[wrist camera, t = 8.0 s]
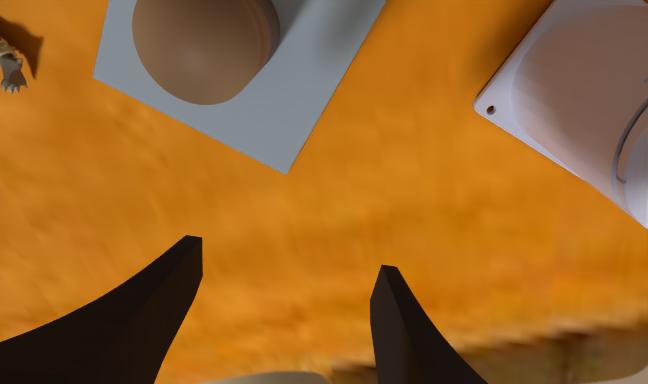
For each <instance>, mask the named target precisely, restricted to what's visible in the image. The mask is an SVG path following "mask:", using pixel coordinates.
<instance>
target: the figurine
mask: <svg viewBox="0 0 648 384" xmlns="http://www.w3.org/2000/svg"><path fill="white" fill-rule="evenodd" d="M15 48H16V47H13V46H9V44H8V43H7V42H6V41H2V40H1V39H0V66H1V67H2V70H3V77H4V79H3V80H2V82H1V88H2V89H3V91H5V92H6V90H7V88H8V90H9V92H10V93H12V94H13V91H14V90H15V91H16V92H17V93H19V90H20V85H22V86H24V87H26V88H28V87H27V84H26V80H25V78H24V76H23V74H22V72H21V68H22V63H23V59H22V58H19V59H17V55H18V54H17V53H16V52H15V51H14V50H15Z"/></svg>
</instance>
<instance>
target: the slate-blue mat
mask: <svg viewBox="0 0 648 384" xmlns="http://www.w3.org/2000/svg"><path fill="white" fill-rule="evenodd" d="M271 1H272V3H273V5H274V7H275V10H276V12H277V15H278V19H279V25H280V36H279V42H278V46H277V49H276V51H275V53H274V55H273V56H272V58H271V59H270V60H269V62H268V63H267V64H266V65H265V66H264V67H263V68H262V69H261V70H260V71H259V73H258V74H257V75H256V76H255V77H254V78H253V79H252V80H251V81H250V83H249V84H248V85H247V86H246V87H245V88H244V89H243V90H242V91H241V92H240V93H239V94H238V95H236V96H235V97H234V98H232V99H230V100H228V101H226V102H223V103H220V104H215V105H198V104H192V103H189V102H186V101H183V100H181V99H178V98H176V97H175V96H173V95H171V94H170V93H168V92H167V91H165V90H164V89H163V88H162V87H161V86H159V85H158V84H157V83H156V82H155V81H154V79H153V78H152V77H151V76H150V75H149V73H148V72H147V71H146V69H145V67H144V66H143V64H142V62H141V60H140V58H139V56H138V54H137V51H136V48H135V44H134V40H133V33H132V18H133V12H134V8H135V5H136V2H137V0H109V4H108V8H107V13H106V18H105V22H104V27H103V31H102V36H101V41H100V45H99V50H98V54H97V59H96V64H95V68H94V73H93V78H95V79H97V80H99V81H101V82H103V83H105V84H107V85H109V86H111V87H113V88H115V89H117V90H119V91H121V92H123V93H125V94H127V95H129V96H131V97H133V98H135V99H137V100H139V101H141V102H143V103H145V104H147V105H148V106H150V107H152V108H154V109H156V110H158V111H160V112H162V113H164V114H166V115H168V116H170V117H172V118H174V119H176V120H178V121H180V122H182V123H184V124H186V125H188V126H190V127H192V128H194V129H196V130H198V131H200V132H202V133H204V134H206V135H208V136H210V137H212V138H214V139H216V140H218V141H220V142H222V143H224V144H226V145H228V146H230V147H232V148H234V149H236V150H238V151H240V152H241V153H243V154H245V155H247V156H249V157H251V158H253V159H255V160H257V161H259V162H261V163H263V164H265V165H267V166H269V167H271V168H273V169H275V170H277V171H279V172H281V173H283V174H285V175H286V174H287V173H288V171H289V169H290V167H291V166H292V164H293V162H294V160H295V159H296V157H297V155H298V154H299V152H300V150H301V148H302V147H303V145H304V143H305V141H306V140H307V138H308V136H309V134H310V133H311V131H312V129H313V128H314V126H315V124H316V122H317V121H318V119H319V117H320V115H321V114H322V112H323V110H324V109H325V107H326V105H327V103H328V102H329V100H330V98H331V96H332V95H333V93H334V91H335V89H336V88H337V86H338V84H339V83H340V81H341V79H342V77H343V76H344V74H345V72H346V70H347V69H348V67H349V65H350V63H351V62H352V60H353V58H354V57H355V55H356V53H357V51H358V50H359V48H360V46H361V44H362V43H363V41H364V39H365V37H366V36H367V34H368V32H369V31H370V29H371V27H372V25H373V24H374V22H375V20H376V18H377V17H378V15H379V13H380V12H381V10H382V8H383V6H384V5H385V3H386V1H387V0H271Z"/></svg>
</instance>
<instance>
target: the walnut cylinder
mask: <svg viewBox="0 0 648 384" xmlns="http://www.w3.org/2000/svg"><path fill="white" fill-rule="evenodd" d="M132 33H133V40H134V44H135V48H136V51H137V54H138V56H139V58H140V60H141V62H142V64H143V66H144V67H145V69H146V71H147V72H148V73H149V75H150V76H151V77H152V78H153V79H154V81H155V82H156V83H157V84H158V85H159V86H161V87H162V88H163V89H164V90H165V91H167V92H168V93H170V94H171V95H173V96H175V97H176V98H178V99H181V100H183V101H186V102H189V103H192V104H198V105H215V104H220V103H223V102H226V101H228V100H230V99H232V98H234V97H235V96H236V95H238V94H239V93H240V92H241V91H242V90H243V89H244V88H245V87H246V86H247V85H248V84H249V83H250V81H251V80H252V79H253V78H254V77H255V76H256V75H257V74H258V73H259V71H260V70H261V69H262V68H263V67H264V66H265V65H266V64H267V63H268V62H269V60H270V59H271V58H272V56H273V55H274V53H275V51H276V49H277V46H278V42H279V36H280V25H279V19H278V15H277V12H276V10H275V7H274V5H273V3H272V1H271V0H137V2H136V5H135V8H134V12H133V18H132Z"/></svg>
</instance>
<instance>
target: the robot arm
mask: <svg viewBox="0 0 648 384" xmlns="http://www.w3.org/2000/svg"><path fill="white" fill-rule="evenodd" d="M492 105H493V106H494V108H493V110H492V111H491V112H489V113H487V111H486V110H487V108H488V107H489V106H492ZM473 108H474V110H475V111H476V112H477V113H478V114H480V115H482V116H483V117H485V118H486V119H488V120H489V121H491V122H493V123H494V124H496V125H497V126H499V127H500V128H502V129H504V130H505V131H507V132H508V133H510V134H512V135H513V136H515V137H516V138H518V139H519V140H521V141H523V142H524V143H526V144H527V145H529V146H531V147H532V148H534V149H535V150H537V151H538V152H540V153H542V154H543V155H545V156H546V157H548V158H549V159H551V160H553V161H554V162H556V163H557V164H559V165H561V166H562V167H564V168H565V169H567V170H568V171H570V172H572V173H573V174H575V175H576V176H578V177H579V178H581V179H583V180H584V181H586V182H588V183H589V184H590V185H592V186H593V187H594V188H596V189H597V190H598V191H599V192H601V193H602V194H603V195H604V196H606V197H607V198H608V199H610V200H611V201H612V202H613V203H615V204H616V205H617V206H619V207H620V208H621V209H622V210H624V211H625V212H626V213H628V214H629V215H630V216H631V217H633V218H634V219H635V220H636V221H638V222H639V223H640V224H641V225H643V226H644V227H645V228H647V229H648V4H647V3H646V2H644V1H643V0H554V1H553V2H552V3H551V5H550V6H549V7H548V8H547V10H546V11H545V12H544V14H543V15H542V16H541V17H540V19H539V20H538V21H537V22H536V24H535V25H534V26H533V27H532V29H531V30H530V31H529V32H528V34H527V35H526V36H525V37H524V39H523V40H522V41H521V42H520V44H519V45H518V46H517V48H516V49H515V50H514V51H513V53H512V54H511V55H510V56H509V58H508V59H507V60H506V61H505V63H504V64H503V65H502V66H501V68H500V69H499V70H498V71H497V73H496V74H495V75H494V76H493V78H492V79H491V80H490V82H489V83H488V84H487V85H486V87H485V88H484V89H483V90H482V92H481V93H480V94H479V95H478V97H477V98H476V99H475V101H474V103H473ZM202 276H203V264H202V237H196V236H189V235H186V236H185V237H183V238H182V239H181V240H179V241H178V242H177V243H176V244H175V245H173V246H172V247H171V248H170V249H169V250H167V251H166V252H165V253H164V254H162V255H161V256H160V257H159V258H157V259H156V260H155V261H153V262H152V263H151V264H149V265H148V266H147V267H145V268H144V269H143V270H141V271H140V272H139V273H137V274H136V275H134V276H133V277H131V278H130V279H128V280H127V281H126V282H124V283H123V284H121V285H120V286H118V287H116V288H115V289H113V290H112V291H110V292H108V293H107V294H105V295H103V296H102V297H100V298H98V299H96V300H95V301H93V302H91V303H89V304H87V305H85V306H83V307H81V308H79V309H77V310H75V311H73V312H71V313H69V314H67V315H65V316H63V317H61V318H59V319H57V320H54V321H52V322H50V323H48V324H45V325H43V326H41V327H38V328H36V329H34V330H31V331H29V332H26V333H24V334H21V335H18V336H16V337H13V338H10V339H7V340H5V341H2V342H0V384H154V382H155V379H156V377H157V374H158V372H159V369H160V367H161V364H162V362H163V360H164V358H165V355H166V353H167V351H168V349H169V347H170V345H171V343H172V341H173V339H174V337H175V336H176V334H177V332H178V330H179V328H180V326H181V324H182V322H183V320H184V318H185V316H186V314H187V312H188V310H189V308H190V306H191V304H192V302H193V300H194V298H195V296H196V293H197V290H198V288H199V285H200V282H201V279H202ZM370 324H371V332H372V340H373V347H374V354H375V361H376V368H377V375H378V384H488V383H487V382H486V381H485V380H483V379H482V378H481V377H480V376H479V375H478V374H477V373H476V372H475V371H474V370H473V369H472V368H471V367H470V366H469V365H468V364H467V363H466V362H465V361H464V360H463V359H462V358H461V357H460V356H459V354H458V353H457V352H456V351H455V350H454V349H453V348H452V347H451V345H450V344H449V343H448V342H447V341H446V340H445V338H444V337H443V336H442V335H441V334H440V332H439V331H438V330H437V328H436V327H435V326H434V324H433V323H432V322H431V320H430V319H429V317H428V316H427V315H426V313H425V312H424V310H423V309H422V307H421V306H420V304H419V303H418V301H417V300H416V298H415V296H414V295H413V293H412V292H411V290H410V288H409V287H408V285H407V283H406V282H405V280H404V278H403V277H402V275H401V273H400V271H399V270H398V268H397V267H394V266H388V265H381V268H380V271H379V274H378V278H377V281H376V284H375V287H374V290H373V293H372V296H371V299H370Z"/></svg>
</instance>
